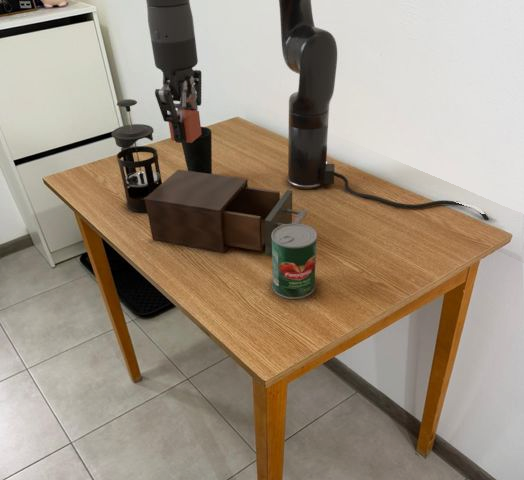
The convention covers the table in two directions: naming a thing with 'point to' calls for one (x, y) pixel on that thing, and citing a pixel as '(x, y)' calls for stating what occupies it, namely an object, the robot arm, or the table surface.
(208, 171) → the cup
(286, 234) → the canned tomato
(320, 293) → the table surface
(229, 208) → the drawer
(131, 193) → the french press
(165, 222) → the cabinet
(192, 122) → the block
